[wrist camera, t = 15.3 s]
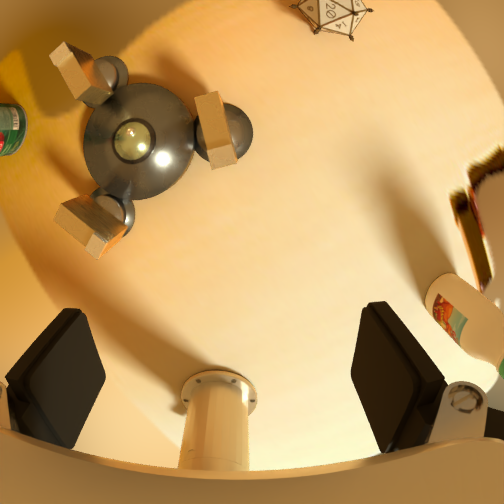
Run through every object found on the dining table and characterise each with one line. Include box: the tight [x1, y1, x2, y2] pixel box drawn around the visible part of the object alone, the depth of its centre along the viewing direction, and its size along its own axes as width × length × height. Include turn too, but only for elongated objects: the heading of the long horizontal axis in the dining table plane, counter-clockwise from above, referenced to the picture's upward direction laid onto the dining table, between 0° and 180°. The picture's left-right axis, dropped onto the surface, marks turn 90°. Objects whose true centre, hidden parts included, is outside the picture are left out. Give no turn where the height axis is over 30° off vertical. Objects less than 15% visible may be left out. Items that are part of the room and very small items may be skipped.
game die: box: [289, 0, 374, 42], centre depth 25 cm, size 9×8×10 cm
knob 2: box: [194, 91, 244, 170], centre depth 29 cm, size 7×5×8 cm
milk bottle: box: [425, 273, 504, 379], centre depth 32 cm, size 8×8×20 cm
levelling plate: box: [83, 56, 253, 237], centre depth 32 cm, size 22×24×3 cm
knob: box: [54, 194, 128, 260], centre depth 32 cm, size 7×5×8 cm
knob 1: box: [50, 42, 119, 105], centre depth 26 cm, size 7×5×8 cm
